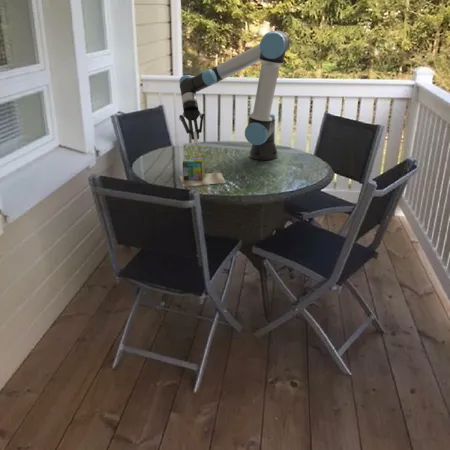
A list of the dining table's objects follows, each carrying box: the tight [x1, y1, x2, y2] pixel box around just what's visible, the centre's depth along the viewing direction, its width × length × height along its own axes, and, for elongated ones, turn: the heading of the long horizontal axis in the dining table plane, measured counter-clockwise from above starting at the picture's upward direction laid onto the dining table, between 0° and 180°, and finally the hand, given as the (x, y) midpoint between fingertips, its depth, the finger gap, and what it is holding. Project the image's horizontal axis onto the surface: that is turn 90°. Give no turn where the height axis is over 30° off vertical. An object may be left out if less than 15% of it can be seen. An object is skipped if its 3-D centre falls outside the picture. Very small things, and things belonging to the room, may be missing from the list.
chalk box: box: [182, 154, 206, 180], centre depth 240 cm, size 9×9×15 cm
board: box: [179, 172, 227, 188], centre depth 240 cm, size 20×16×1 cm
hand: (196, 144), depth 248 cm, fingers closed
